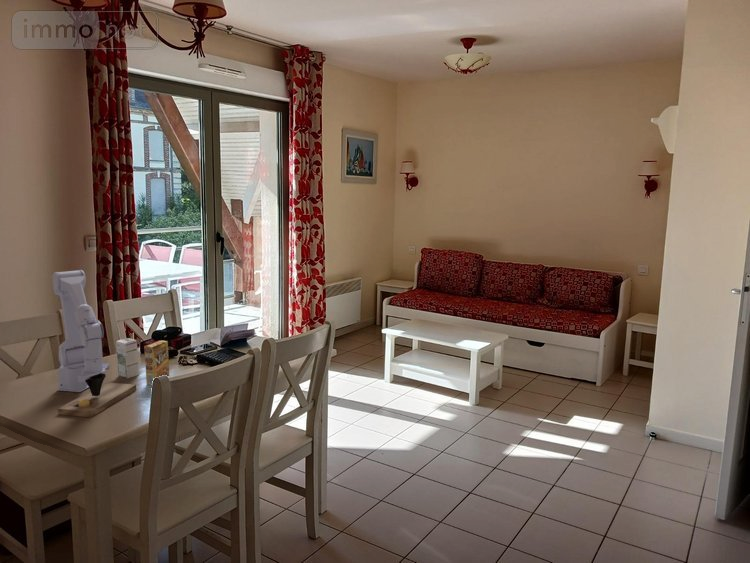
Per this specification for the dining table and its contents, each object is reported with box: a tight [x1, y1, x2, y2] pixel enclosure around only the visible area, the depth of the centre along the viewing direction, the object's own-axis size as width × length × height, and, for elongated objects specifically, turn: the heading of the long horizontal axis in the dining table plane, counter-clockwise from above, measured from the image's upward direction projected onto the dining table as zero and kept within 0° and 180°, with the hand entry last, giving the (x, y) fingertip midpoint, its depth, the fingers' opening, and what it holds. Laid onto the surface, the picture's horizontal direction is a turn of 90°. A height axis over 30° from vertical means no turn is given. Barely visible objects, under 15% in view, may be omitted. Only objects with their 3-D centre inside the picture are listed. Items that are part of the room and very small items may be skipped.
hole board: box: [57, 381, 137, 418], centre depth 206 cm, size 12×26×2 cm, turn 170°
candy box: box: [143, 339, 170, 386], centre depth 225 cm, size 9×4×15 cm, turn 162°
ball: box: [78, 399, 90, 408], centre depth 199 cm, size 4×4×4 cm
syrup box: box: [115, 337, 140, 379], centre depth 232 cm, size 6×6×14 cm
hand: (95, 395), depth 204 cm, fingers closed
